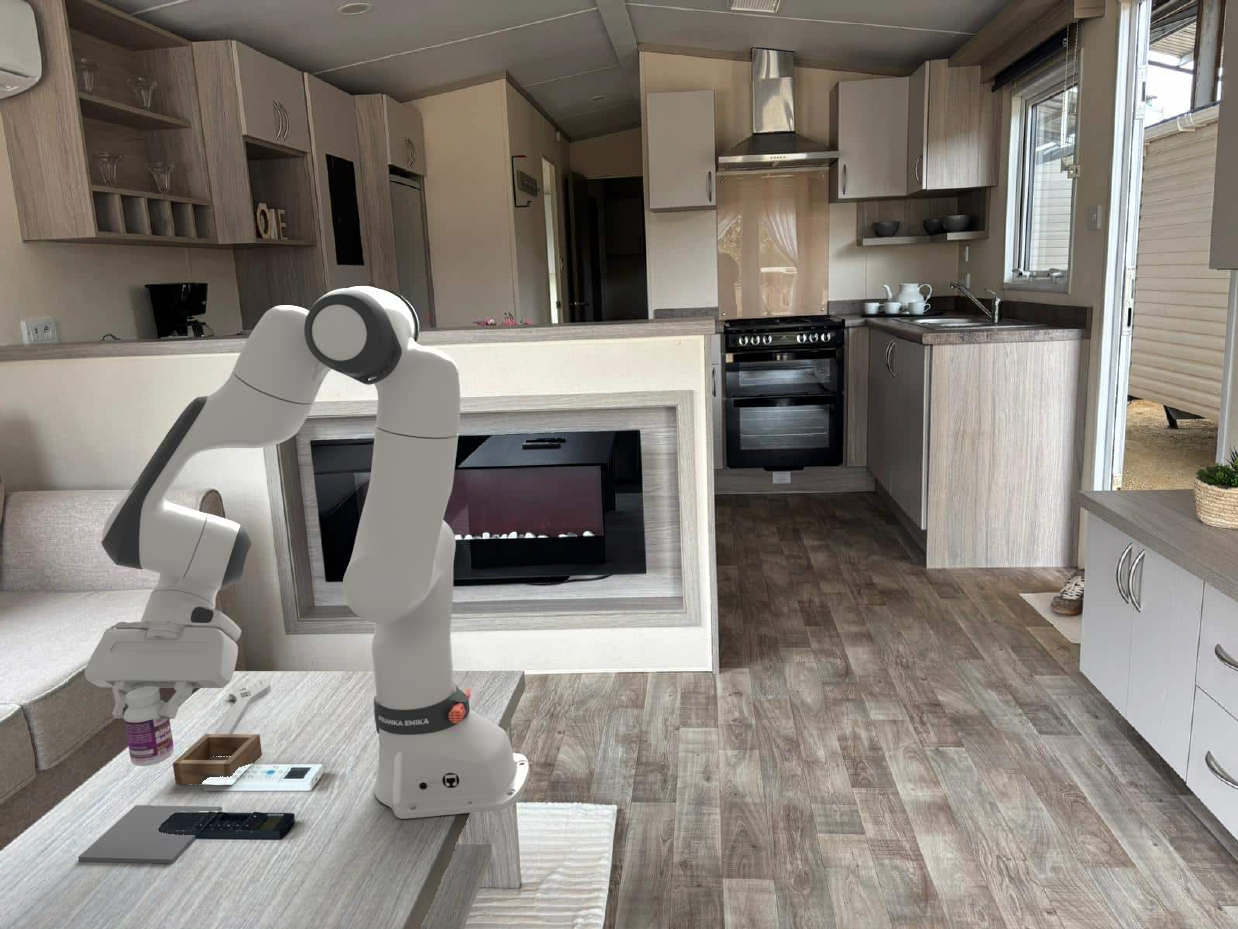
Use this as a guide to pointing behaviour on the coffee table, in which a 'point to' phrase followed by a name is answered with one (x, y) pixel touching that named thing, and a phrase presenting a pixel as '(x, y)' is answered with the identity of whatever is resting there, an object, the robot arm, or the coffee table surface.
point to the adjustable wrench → (241, 705)
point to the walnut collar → (199, 767)
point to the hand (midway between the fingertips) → (143, 717)
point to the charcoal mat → (142, 837)
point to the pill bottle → (147, 727)
